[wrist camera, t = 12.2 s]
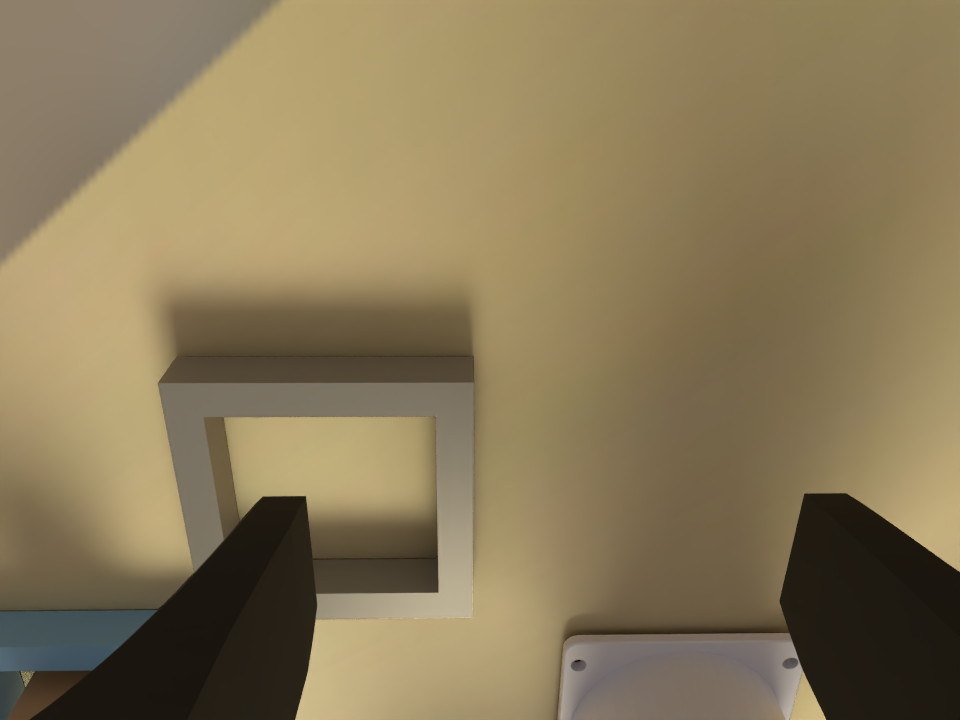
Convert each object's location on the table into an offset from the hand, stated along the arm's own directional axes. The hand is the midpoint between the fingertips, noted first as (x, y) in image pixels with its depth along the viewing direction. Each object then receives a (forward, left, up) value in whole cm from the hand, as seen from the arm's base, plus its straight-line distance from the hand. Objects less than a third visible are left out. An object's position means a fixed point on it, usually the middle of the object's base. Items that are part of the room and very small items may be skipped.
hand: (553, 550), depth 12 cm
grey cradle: (-6, +5, -10) cm, 13 cm away
